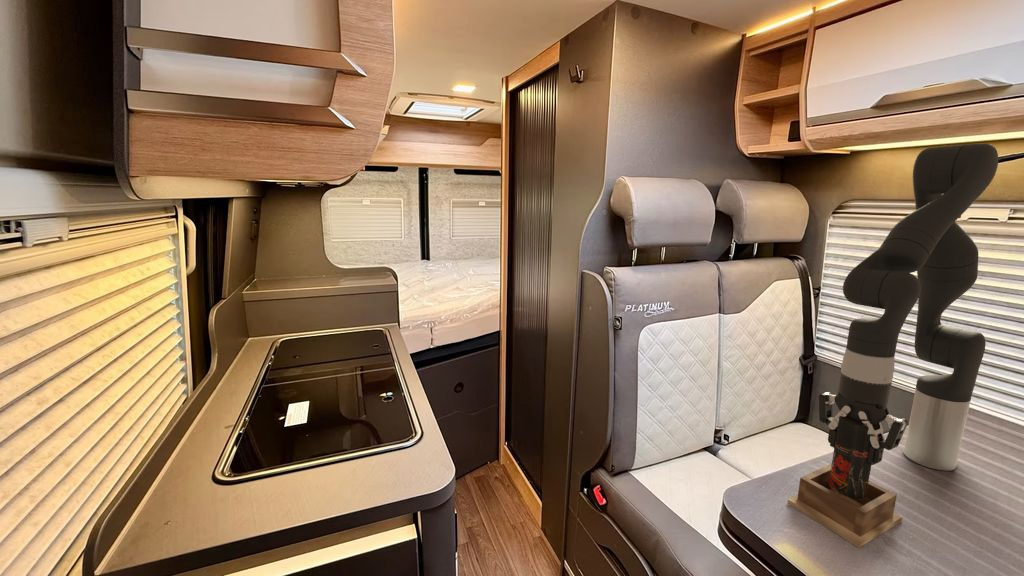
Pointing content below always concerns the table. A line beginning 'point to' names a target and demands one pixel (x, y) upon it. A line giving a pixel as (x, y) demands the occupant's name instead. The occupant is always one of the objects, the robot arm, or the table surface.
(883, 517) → the holder
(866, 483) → the deodorant
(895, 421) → the robot arm
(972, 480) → the table surface
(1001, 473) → the table surface
